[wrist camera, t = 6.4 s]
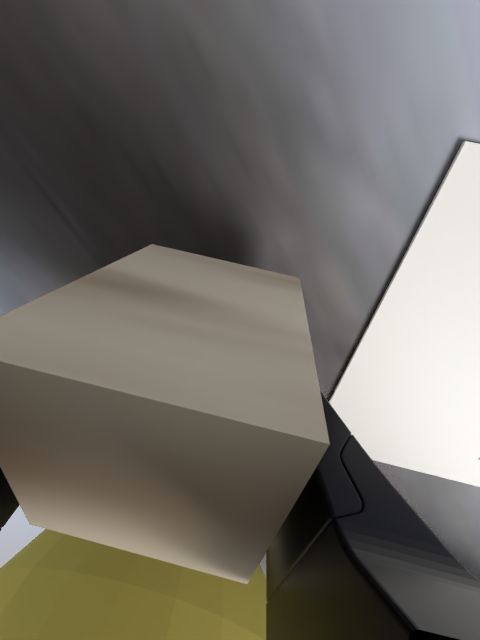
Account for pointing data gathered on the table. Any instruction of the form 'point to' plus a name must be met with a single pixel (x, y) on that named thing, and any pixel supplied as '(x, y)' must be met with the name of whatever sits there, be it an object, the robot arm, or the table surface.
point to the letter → (426, 344)
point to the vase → (121, 596)
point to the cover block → (163, 408)
